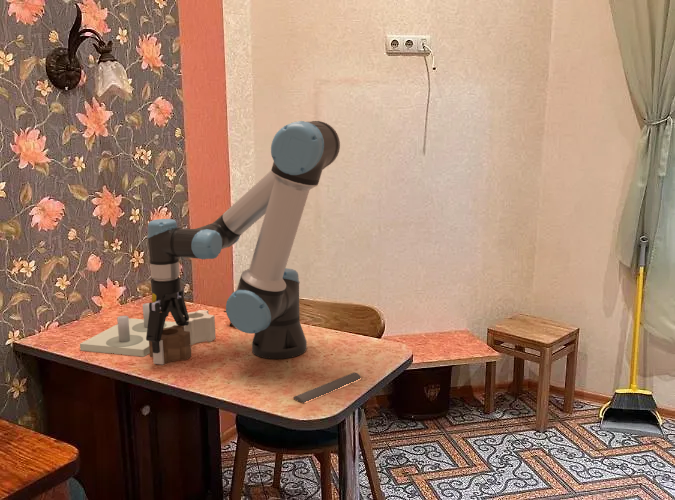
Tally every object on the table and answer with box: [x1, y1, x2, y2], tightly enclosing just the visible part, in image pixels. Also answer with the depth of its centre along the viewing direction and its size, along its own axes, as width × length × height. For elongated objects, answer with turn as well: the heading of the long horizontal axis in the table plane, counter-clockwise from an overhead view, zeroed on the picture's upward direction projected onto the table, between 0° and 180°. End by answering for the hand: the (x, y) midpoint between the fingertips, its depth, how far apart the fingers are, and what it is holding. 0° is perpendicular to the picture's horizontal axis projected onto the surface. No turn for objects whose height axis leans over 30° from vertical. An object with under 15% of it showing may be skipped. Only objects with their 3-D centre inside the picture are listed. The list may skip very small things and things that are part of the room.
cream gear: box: [183, 309, 217, 346], centre depth 194 cm, size 11×11×7 cm
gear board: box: [79, 302, 177, 358], centre depth 193 cm, size 20×24×9 cm
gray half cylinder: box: [292, 372, 362, 404], centre depth 158 cm, size 4×20×2 cm, turn 135°
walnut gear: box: [149, 325, 192, 365], centre depth 180 cm, size 11×11×7 cm
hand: (170, 355), depth 180 cm, fingers open, 11 cm apart
